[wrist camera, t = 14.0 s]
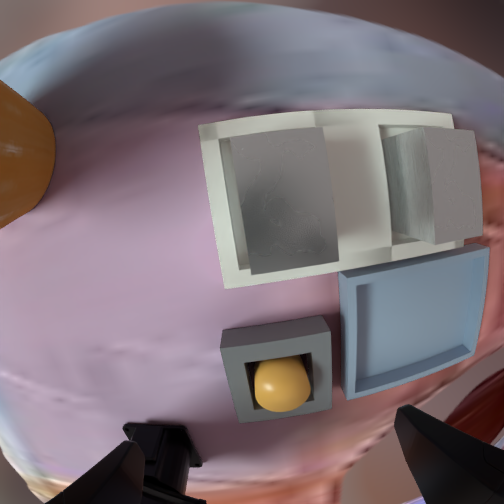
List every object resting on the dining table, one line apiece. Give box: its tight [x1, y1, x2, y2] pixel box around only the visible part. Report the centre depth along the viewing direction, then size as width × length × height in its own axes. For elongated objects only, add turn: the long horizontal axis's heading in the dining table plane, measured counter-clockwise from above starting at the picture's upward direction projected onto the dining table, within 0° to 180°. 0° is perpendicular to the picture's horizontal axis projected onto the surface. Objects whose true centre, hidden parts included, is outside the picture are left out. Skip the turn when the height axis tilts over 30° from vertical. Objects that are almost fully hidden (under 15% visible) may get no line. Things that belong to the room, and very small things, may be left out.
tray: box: [338, 243, 490, 401], centre depth 19 cm, size 10×13×2 cm
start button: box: [254, 355, 311, 412], centre depth 19 cm, size 4×4×3 cm
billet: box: [382, 127, 483, 245], centre depth 14 cm, size 6×4×5 cm, turn 9°
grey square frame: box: [220, 315, 332, 423], centre depth 19 cm, size 7×7×2 cm
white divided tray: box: [198, 109, 464, 289], centre depth 17 cm, size 10×17×2 cm, turn 99°
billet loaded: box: [230, 127, 339, 275], centre depth 15 cm, size 6×4×5 cm, turn 9°
